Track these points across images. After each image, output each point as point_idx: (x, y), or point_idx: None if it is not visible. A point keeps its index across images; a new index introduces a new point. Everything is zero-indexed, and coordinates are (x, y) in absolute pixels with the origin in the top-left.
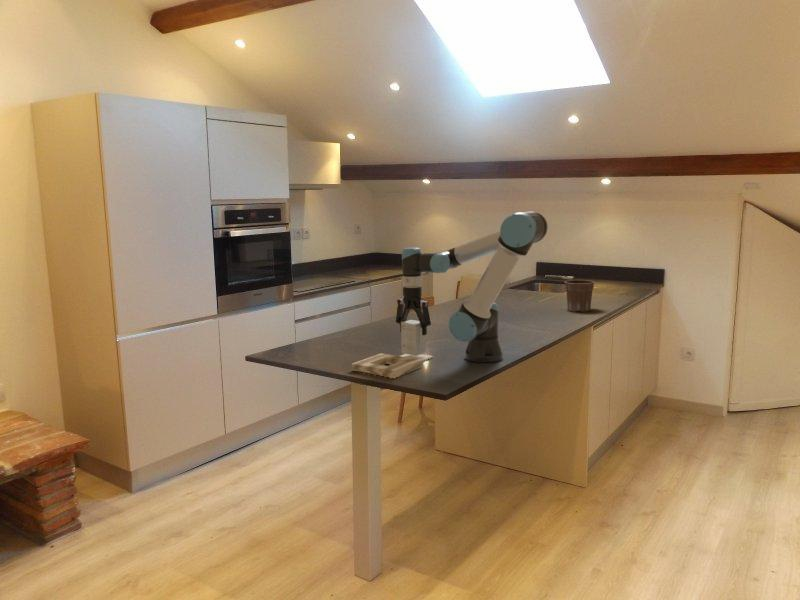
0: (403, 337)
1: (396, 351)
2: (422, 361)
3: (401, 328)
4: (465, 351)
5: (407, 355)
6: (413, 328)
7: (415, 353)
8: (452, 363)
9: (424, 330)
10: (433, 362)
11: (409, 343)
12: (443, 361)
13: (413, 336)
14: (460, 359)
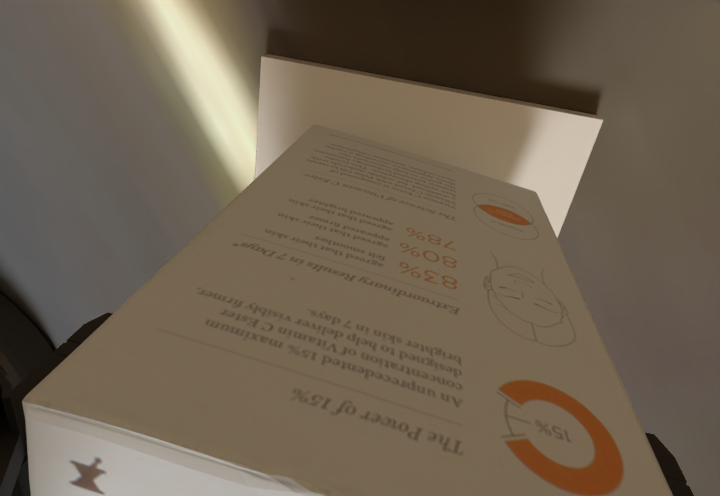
0: (533, 283)
1: (673, 395)
2: (262, 119)
3: (635, 430)
4: (9, 372)
5: None
6: (190, 327)
7: (315, 132)
8: (16, 167)
9: (35, 370)
10: (169, 144)
11: (397, 201)
12: (116, 203)
13: (272, 228)
14: (48, 293)
